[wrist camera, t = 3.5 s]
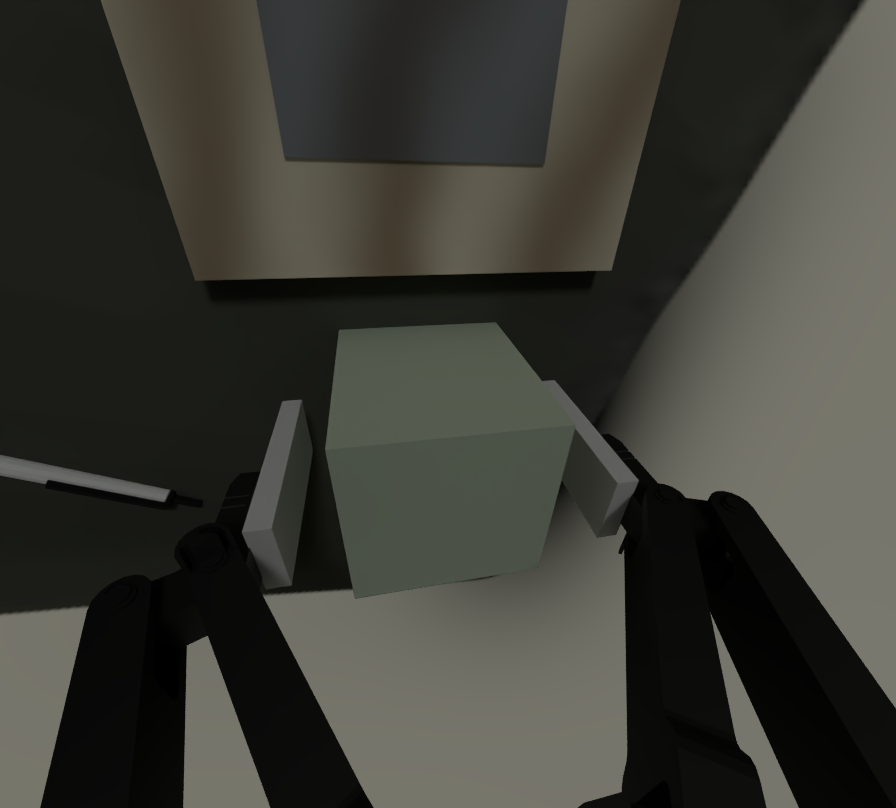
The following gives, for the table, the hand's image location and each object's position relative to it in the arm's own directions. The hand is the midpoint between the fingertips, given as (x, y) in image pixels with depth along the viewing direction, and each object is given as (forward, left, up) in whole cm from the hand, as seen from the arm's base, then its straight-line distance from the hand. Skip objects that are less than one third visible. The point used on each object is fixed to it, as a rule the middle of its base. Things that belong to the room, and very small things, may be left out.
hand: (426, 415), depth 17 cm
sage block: (0, 0, -2) cm, 2 cm away
